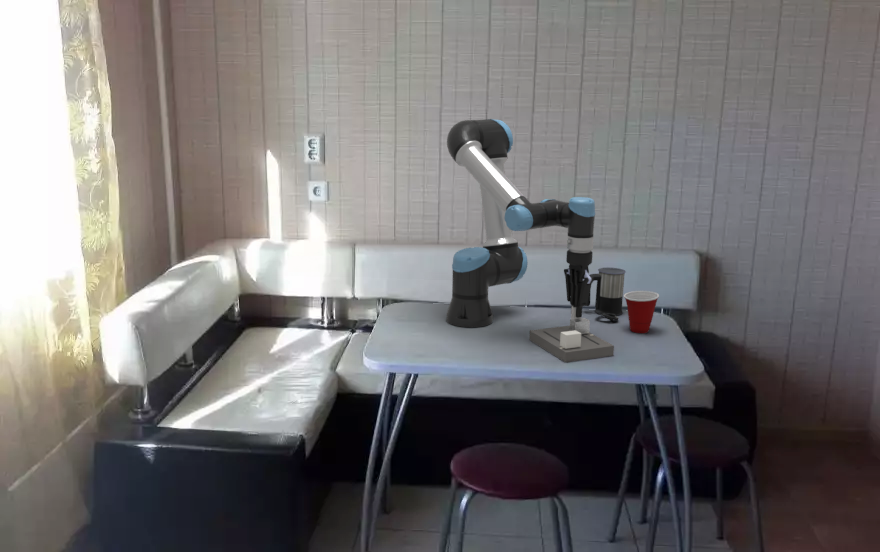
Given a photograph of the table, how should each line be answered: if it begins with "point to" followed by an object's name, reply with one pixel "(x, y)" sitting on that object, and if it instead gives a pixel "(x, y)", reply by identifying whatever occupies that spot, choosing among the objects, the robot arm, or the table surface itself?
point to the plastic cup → (640, 309)
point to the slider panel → (588, 349)
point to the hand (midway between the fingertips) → (575, 326)
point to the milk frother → (609, 292)
